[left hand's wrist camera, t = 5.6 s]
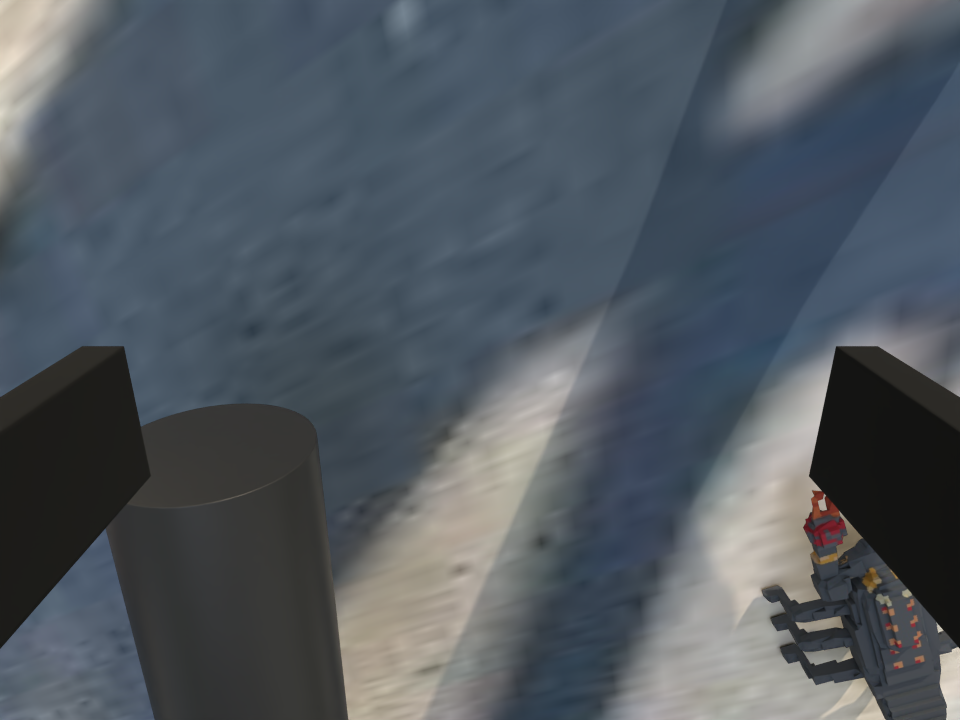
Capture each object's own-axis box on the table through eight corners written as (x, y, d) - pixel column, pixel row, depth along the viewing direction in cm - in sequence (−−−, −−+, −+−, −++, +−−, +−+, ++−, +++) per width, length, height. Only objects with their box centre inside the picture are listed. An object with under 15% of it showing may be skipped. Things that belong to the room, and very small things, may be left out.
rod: (155, 403, 31) (42, 507, 23) (336, 403, 31) (283, 507, 23) (234, 781, 41) (172, 947, 33) (372, 782, 41) (344, 949, 33)
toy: (807, 732, 55) (947, 1013, 38) (725, 476, 46) (861, 697, 29) (973, 688, 53) (1198, 965, 36) (921, 412, 44) (1189, 609, 27)
